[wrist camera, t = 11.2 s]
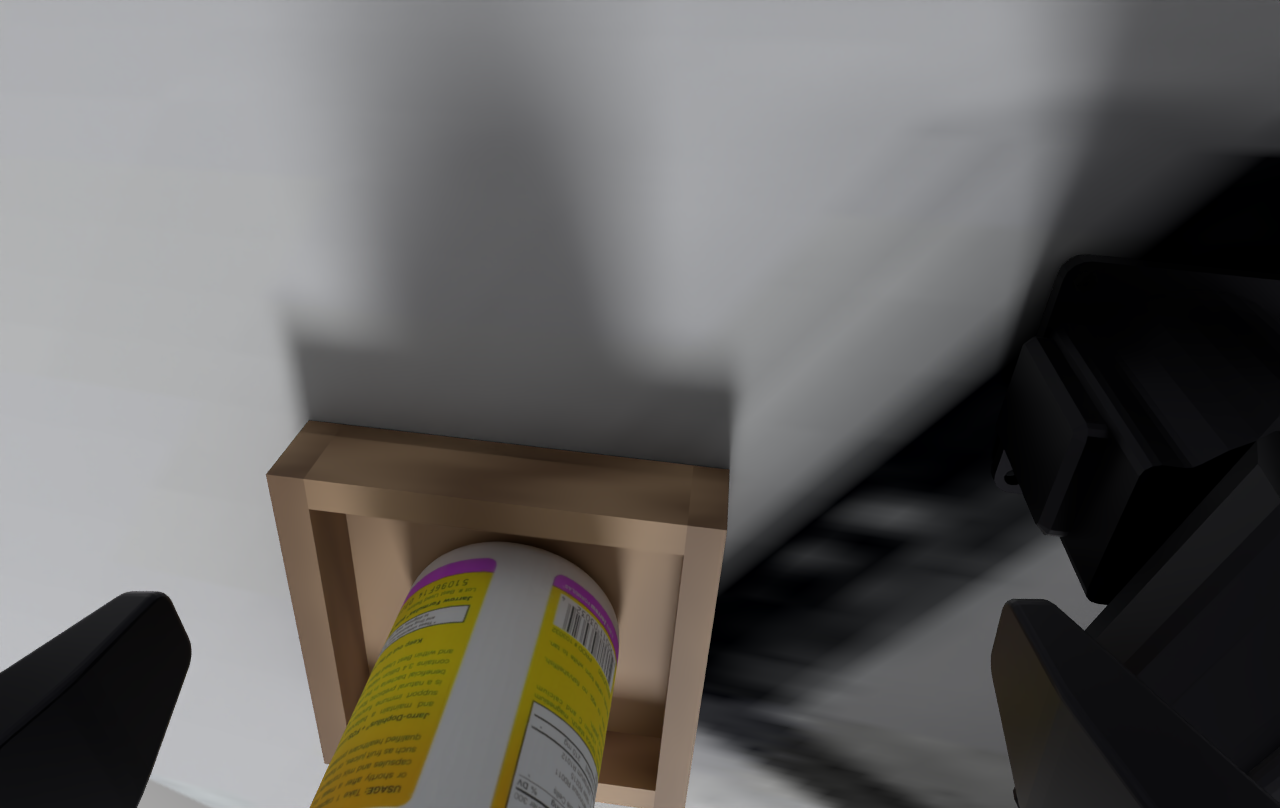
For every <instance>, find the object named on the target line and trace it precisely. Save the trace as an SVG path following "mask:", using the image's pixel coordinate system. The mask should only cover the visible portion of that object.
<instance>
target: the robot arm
mask: <svg viewBox="0 0 1280 808" xmlns="http://www.w3.org/2000/svg"><path fill="white" fill-rule="evenodd" d="M1089 271H1090V272H1092V277H1091V278H1090V280H1089V281H1088V282H1086V283H1085V284H1083V285H1074V280H1075V279H1076V277H1077V276H1078V275H1080V274H1081V273H1083V272H1089ZM996 431H997V434H998V436H999V438H1000V443H999V446H998V448H997V451H996V454H995V457H994V460H993V463H992V466H991V474H992V476H993V479H994V481H995V484H996V486H997V487H998V488H999V489H1001V490H1002V491H1005V492H1009V493H1017V494H1023V495H1024V498H1025V500H1026V502H1027V505H1028V507H1029V510H1030V512H1031V514H1032V517H1033V519H1034V521H1035V524H1036V525H1037V526H1038V527H1039V529H1040V530H1041V531H1042V532H1043V534H1044V535H1049V536H1058V537H1060V539H1061V541H1062V543H1063V546H1064V548H1065V550H1066V552H1067V554H1068V557H1069V559H1070V561H1071V563H1072V566H1073V568H1074V570H1075V572H1076V575H1077V577H1078V579H1079V581H1080V583H1081V586H1082V588H1083V590H1084V592H1085V595H1086V597H1087V598H1088V599H1089V600H1090V601H1091V602H1094V603H1097V604H1104V605H1107V606H1106V608H1105V609H1104V610H1103V611H1102V612H1101V613H1100V614H1099V615H1098V616H1097V618H1096V619H1095V620H1094V621H1093V622H1092V623H1091V624H1090V625H1089V626H1088V627H1087V629H1086V630H1085V631H1084V630H1083V629H1082V628H1081V627H1080V626H1079V625H1077V624H1076V623H1075V622H1074V621H1073V620H1072V619H1071V618H1069V617H1068V616H1067V615H1066V614H1065V613H1064V612H1063V611H1062V610H1060V609H1059V608H1058V607H1057V606H1056V605H1055V604H1053V603H1051V602H1050V601H1048V600H1044V599H1011V600H1009V601H1007V602H1006V603H1005V605H1004V607H1003V609H1002V613H1001V617H1000V621H999V625H998V629H997V633H996V637H995V641H994V645H993V649H992V654H991V672H992V678H993V683H994V688H995V693H996V697H997V702H998V707H999V712H1000V717H1001V721H1002V726H1003V731H1004V736H1005V741H1006V745H1007V750H1008V755H1009V760H1010V764H1011V769H1012V774H1013V779H1014V784H1015V787H1014V790H1013V793H1014V799H1015V801H1016V804H1017V806H1018V808H1280V274H1276V273H1266V272H1256V271H1246V270H1236V269H1226V268H1216V267H1206V266H1196V265H1186V264H1176V263H1166V262H1156V261H1146V260H1136V259H1127V258H1117V257H1107V256H1097V255H1078V256H1075V257H1073V258H1071V259H1069V260H1068V261H1067V262H1065V263H1064V264H1063V265H1062V267H1061V268H1060V270H1059V272H1058V274H1057V277H1056V280H1055V283H1054V286H1053V289H1052V291H1051V294H1050V297H1049V300H1048V303H1047V306H1046V309H1045V312H1044V315H1043V318H1042V321H1041V323H1040V326H1039V329H1038V332H1037V335H1036V336H1033V337H1032V338H1031V339H1029V340H1028V341H1027V342H1026V343H1024V344H1023V346H1022V349H1021V352H1020V355H1019V358H1018V361H1017V364H1016V367H1015V370H1014V373H1013V375H1012V378H1011V381H1010V384H1009V387H1008V390H1007V393H1006V396H1005V399H1004V402H1003V405H1002V408H1001V411H1000V414H999V417H998V420H997V423H996ZM1011 470H1013V472H1014V474H1015V475H1014V476H1006V473H1007V472H1009V471H1011ZM190 661H191V643H190V640H189V638H188V635H187V633H186V631H185V629H184V627H183V625H182V622H181V620H180V618H179V616H178V614H177V612H176V610H175V607H174V605H173V603H172V601H171V599H170V598H169V597H168V596H167V595H166V594H164V593H162V592H154V591H131V592H126V593H123V594H121V595H119V596H118V597H116V598H115V599H113V600H111V601H110V602H108V603H107V604H105V605H104V606H102V607H101V608H99V609H98V610H96V611H95V612H93V613H92V614H90V615H88V616H87V617H85V618H84V619H82V620H81V621H79V622H78V623H76V624H75V625H73V626H72V627H70V628H68V629H67V630H65V631H64V632H62V633H61V634H59V635H58V636H56V637H55V638H53V639H52V640H50V641H49V642H47V643H45V644H44V645H42V646H41V647H39V648H38V649H36V650H35V651H33V652H32V653H30V654H29V655H27V656H25V657H24V658H22V659H21V660H19V661H18V662H16V663H15V664H13V665H12V666H10V667H9V668H7V669H6V670H4V671H2V672H1V673H0V808H137V806H138V804H139V802H140V800H141V797H142V795H143V793H144V790H145V787H146V785H147V782H148V780H149V777H150V775H151V772H152V769H153V767H154V764H155V761H156V758H157V755H158V752H159V750H160V747H161V744H162V741H163V738H164V736H165V733H166V730H167V727H168V724H169V722H170V719H171V716H172V713H173V710H174V708H175V705H176V702H177V699H178V696H179V693H180V691H181V688H182V685H183V682H184V679H185V677H186V674H187V671H188V668H189V665H190Z"/></svg>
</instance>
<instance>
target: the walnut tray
mask: <svg viewBox="0 0 1280 808" xmlns="http://www.w3.org/2000/svg"><path fill="white" fill-rule="evenodd" d="M266 477H267V482H268V487H269V492H270V496H271V501H272V506H273V511H274V516H275V521H276V526H277V531H278V536H279V541H280V546H281V551H282V556H283V561H284V565H285V570H286V575H287V580H288V585H289V590H290V595H291V600H292V605H293V610H294V615H295V620H296V625H297V630H298V634H299V639H300V644H301V649H302V654H303V659H304V664H305V669H306V674H307V679H308V684H309V689H310V694H311V699H312V703H313V708H314V713H315V718H316V723H317V728H318V733H319V738H320V743H321V748H322V753H323V758H324V763H325V764H330V762H331V760H332V758H333V756H334V753H335V751H336V749H337V747H338V744H339V742H340V740H341V738H342V735H343V733H344V731H345V729H346V727H347V725H348V723H349V720H350V718H351V716H352V714H353V712H354V709H355V707H356V705H357V703H358V701H359V699H360V696H361V694H362V692H363V690H364V688H365V686H366V683H367V681H368V679H369V677H370V675H371V672H372V670H373V668H374V666H375V664H376V662H377V660H378V657H379V655H380V653H381V651H382V648H383V646H384V644H385V642H386V640H387V638H388V636H389V633H390V631H391V629H392V627H393V625H394V622H395V620H396V618H397V616H398V614H399V612H400V609H401V607H402V605H403V603H404V601H405V599H406V597H407V595H408V593H409V591H410V589H411V587H412V585H413V583H414V582H415V580H416V579H417V577H418V576H419V575H420V574H421V573H422V571H423V570H424V569H425V568H426V567H427V566H428V565H430V564H431V563H432V562H433V561H434V560H436V559H437V558H439V557H440V556H442V555H444V554H446V553H448V552H450V551H452V550H454V549H457V548H460V547H463V546H466V545H470V544H476V543H482V542H511V543H518V544H524V545H528V546H533V547H536V548H539V549H543V550H546V551H548V552H551V553H553V554H556V555H558V556H560V557H562V558H564V559H566V560H568V561H569V562H571V563H573V564H574V565H576V566H577V567H579V568H580V569H582V570H583V571H584V572H585V573H587V574H588V575H589V576H590V577H591V578H592V579H593V580H594V581H595V582H596V583H597V584H598V585H599V587H600V588H601V589H602V590H603V592H604V593H605V595H606V596H607V598H608V599H609V601H610V603H611V605H612V607H613V609H614V612H615V615H616V618H617V622H618V627H619V654H618V663H617V670H616V677H615V684H614V690H613V696H612V702H611V708H610V714H609V720H608V725H607V731H606V738H605V744H604V751H603V757H602V763H601V769H600V775H599V780H598V786H597V792H596V798H595V802H601V803H608V804H616V805H623V806H630V807H637V808H685V803H686V796H687V790H688V783H689V777H690V770H691V763H692V757H693V750H694V744H695V737H696V731H697V724H698V718H699V711H700V704H701V698H702V691H703V685H704V678H705V672H706V665H707V658H708V652H709V645H710V639H711V632H712V626H713V619H714V613H715V606H716V599H717V593H718V586H719V580H720V573H721V567H722V560H723V554H724V547H725V540H726V534H727V519H728V494H729V470H728V469H719V468H711V467H702V466H694V465H685V464H677V463H668V462H660V461H651V460H643V459H634V458H625V457H617V456H608V455H600V454H591V453H583V452H574V451H566V450H557V449H549V448H540V447H532V446H523V445H515V444H506V443H498V442H489V441H481V440H472V439H464V438H455V437H447V436H438V435H430V434H421V433H413V432H404V431H395V430H387V429H378V428H370V427H361V426H353V425H344V424H336V423H327V422H319V421H310V420H309V421H308V422H307V423H306V425H305V426H304V427H303V428H302V430H301V431H300V432H299V433H298V435H297V436H296V437H295V438H294V440H293V441H292V442H291V444H290V445H289V446H288V447H287V449H286V450H285V451H284V452H283V454H282V455H281V456H280V457H279V459H278V460H277V461H276V463H275V464H274V465H273V466H272V468H271V469H270V470H269V471H268V473H267V474H266Z"/></svg>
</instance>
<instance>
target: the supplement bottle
mask: <svg viewBox="0 0 1280 808" xmlns="http://www.w3.org/2000/svg"><path fill="white" fill-rule="evenodd" d="M618 654H619V627H618V622H617V618H616V615H615V612H614V609H613V607H612V605H611V603H610V601H609V599H608V598H607V596H606V595H605V593H604V592H603V590H602V589H601V588H600V587H599V585H598V584H597V583H596V582H595V581H594V580H593V579H592V578H591V577H590V576H589V575H588V574H587V573H585V572H584V571H583V570H582V569H580V568H579V567H577V566H576V565H574V564H573V563H571V562H569V561H568V560H566V559H564V558H562V557H560V556H558V555H556V554H553V553H551V552H548V551H546V550H543V549H539V548H536V547H533V546H528V545H524V544H518V543H511V542H482V543H476V544H470V545H466V546H463V547H460V548H457V549H454V550H452V551H450V552H448V553H446V554H444V555H442V556H440V557H439V558H437V559H436V560H434V561H433V562H432V563H431V564H430V565H428V566H427V567H426V568H425V569H424V570H423V571H422V573H421V574H420V575H419V576H418V577H417V579H416V580H415V582H414V583H413V585H412V587H411V589H410V591H409V593H408V595H407V597H406V599H405V601H404V603H403V605H402V607H401V609H400V612H399V614H398V616H397V618H396V620H395V622H394V625H393V627H392V629H391V631H390V633H389V636H388V638H387V640H386V642H385V644H384V646H383V648H382V651H381V653H380V655H379V657H378V660H377V662H376V664H375V666H374V668H373V670H372V672H371V675H370V677H369V679H368V681H367V683H366V686H365V688H364V690H363V692H362V694H361V696H360V699H359V701H358V703H357V705H356V707H355V709H354V712H353V714H352V716H351V718H350V720H349V723H348V725H347V727H346V729H345V731H344V733H343V735H342V738H341V740H340V742H339V744H338V747H337V749H336V751H335V753H334V756H333V758H332V760H331V762H330V764H329V766H328V768H327V771H326V773H325V775H324V777H323V779H322V782H321V784H320V786H319V788H318V791H317V793H316V795H315V797H314V799H313V802H312V804H311V806H310V808H594V804H595V798H596V792H597V786H598V780H599V775H600V769H601V763H602V757H603V751H604V744H605V738H606V731H607V725H608V720H609V714H610V708H611V702H612V696H613V690H614V684H615V677H616V670H617V663H618Z"/></svg>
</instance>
